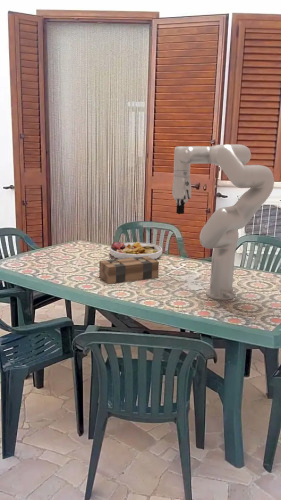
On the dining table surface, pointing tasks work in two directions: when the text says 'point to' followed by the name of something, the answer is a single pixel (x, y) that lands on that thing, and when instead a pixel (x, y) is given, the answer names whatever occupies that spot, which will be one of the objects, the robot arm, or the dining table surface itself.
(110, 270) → the banded wooden block
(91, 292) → the dining table surface
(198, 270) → the dining table surface
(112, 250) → the bowl
